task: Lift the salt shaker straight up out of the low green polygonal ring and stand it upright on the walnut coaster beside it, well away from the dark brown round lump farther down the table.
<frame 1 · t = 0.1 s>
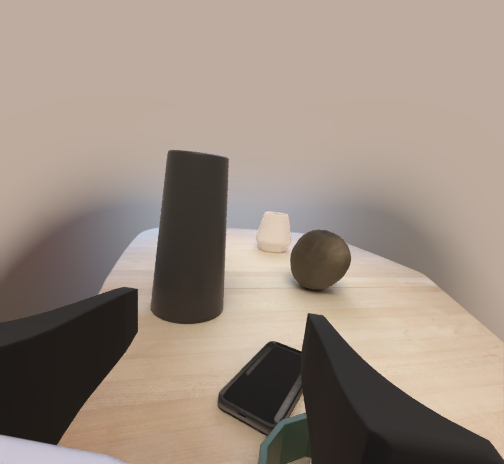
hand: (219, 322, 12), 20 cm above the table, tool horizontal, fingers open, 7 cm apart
cup: (272, 250, 110), on the table
dark brown round lump: (314, 288, 74), on the table
vase: (187, 307, 57), on the table
phone: (271, 383, 38), on the table
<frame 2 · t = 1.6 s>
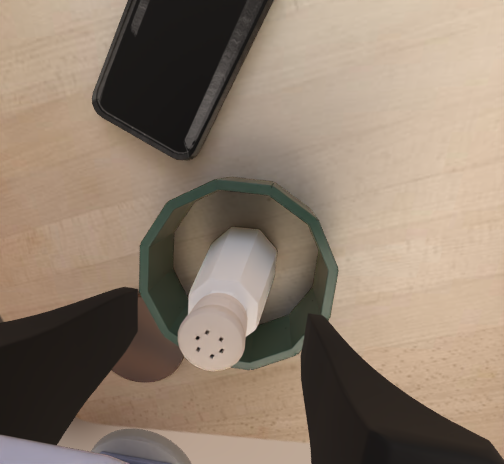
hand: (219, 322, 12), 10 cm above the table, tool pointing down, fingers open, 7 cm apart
green polygonal ring: (243, 259, 22), on the table
salt shaker: (243, 258, 22), resting in green polygonal ring
coaster: (141, 336, 25), on the table
phone: (190, 35, 19), on the table
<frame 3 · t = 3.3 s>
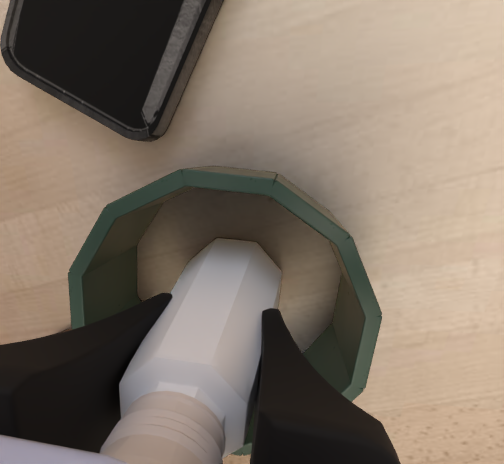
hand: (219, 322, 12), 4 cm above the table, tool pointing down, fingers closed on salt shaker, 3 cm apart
green polygonal ring: (234, 283, 16), on the table
salt shaker: (234, 281, 16), resting in green polygonal ring, touching gripper
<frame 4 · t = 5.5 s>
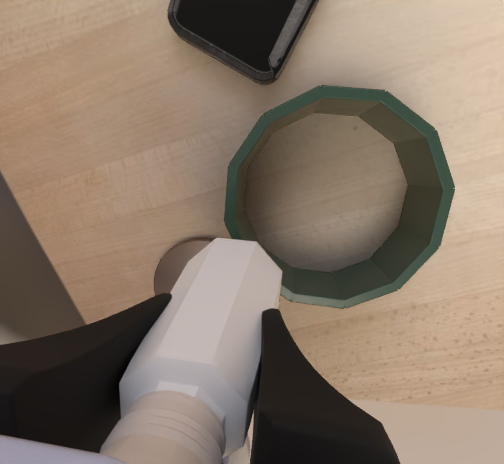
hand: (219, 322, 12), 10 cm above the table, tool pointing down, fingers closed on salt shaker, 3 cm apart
green polygonal ring: (322, 197, 21), on the table
salt shaker: (234, 281, 16), point 6 cm above the table, touching gripper
coaster: (205, 286, 23), on the table
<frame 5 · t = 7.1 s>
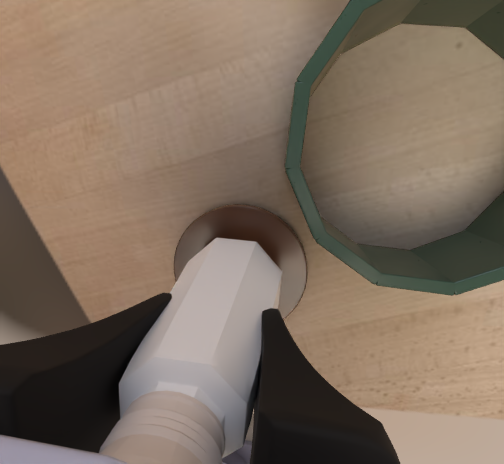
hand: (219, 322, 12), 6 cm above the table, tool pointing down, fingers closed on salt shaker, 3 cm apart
green polygonal ring: (405, 146, 15), on the table
salt shaker: (234, 281, 16), point 2 cm above the table, touching gripper
coaster: (240, 269, 18), on the table
when the fingers open (4 cm above the table, at t = 8.0 s): salt shaker stays where it is, resting on coaster.
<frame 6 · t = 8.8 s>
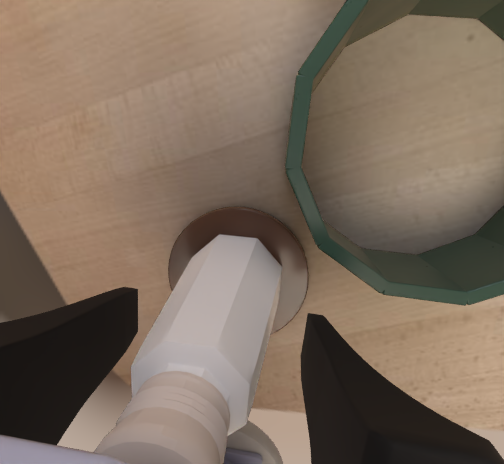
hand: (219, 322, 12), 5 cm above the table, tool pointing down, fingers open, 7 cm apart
green polygonal ring: (412, 145, 14), on the table
salt shaker: (236, 276, 17), resting on coaster
coaster: (238, 274, 17), on the table
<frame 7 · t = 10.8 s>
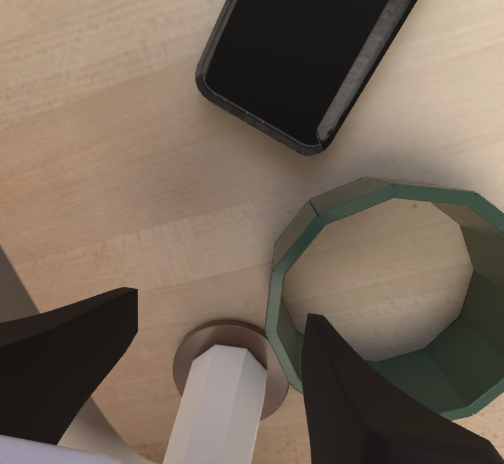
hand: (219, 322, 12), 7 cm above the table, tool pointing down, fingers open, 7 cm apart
green polygonal ring: (371, 281, 18), on the table
salt shaker: (229, 375, 20), resting on coaster
coaster: (231, 371, 20), on the table
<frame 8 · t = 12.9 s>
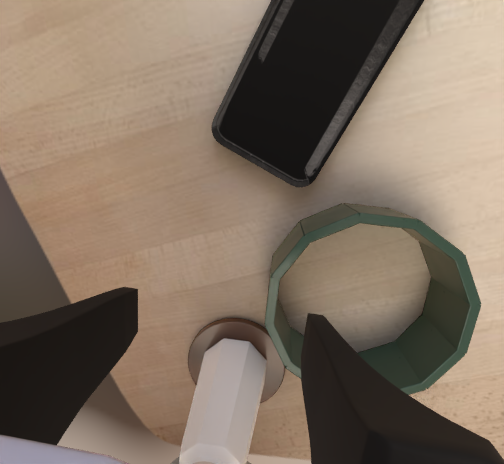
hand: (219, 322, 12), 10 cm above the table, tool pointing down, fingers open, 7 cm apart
green polygonal ring: (350, 285, 22), on the table
salt shaker: (235, 364, 24), resting on coaster
coaster: (236, 361, 24), on the table
phone: (313, 61, 19), on the table
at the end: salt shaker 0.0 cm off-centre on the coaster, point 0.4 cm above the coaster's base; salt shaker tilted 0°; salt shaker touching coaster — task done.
